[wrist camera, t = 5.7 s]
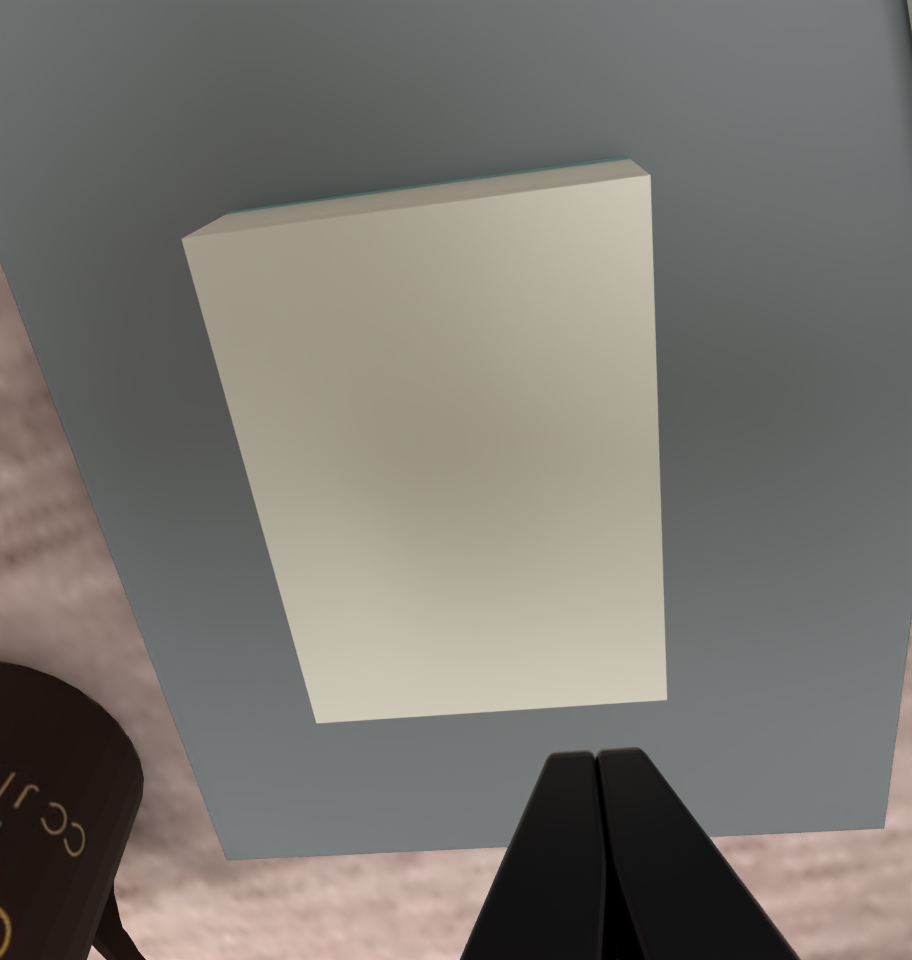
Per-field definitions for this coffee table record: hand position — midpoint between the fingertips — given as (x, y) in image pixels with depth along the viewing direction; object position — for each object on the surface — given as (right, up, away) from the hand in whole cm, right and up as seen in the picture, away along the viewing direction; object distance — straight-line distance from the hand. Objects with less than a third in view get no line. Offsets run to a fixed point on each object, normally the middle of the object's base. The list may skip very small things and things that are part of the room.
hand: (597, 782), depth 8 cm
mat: (-1, +4, +8) cm, 9 cm away
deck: (+2, +3, +6) cm, 7 cm away
